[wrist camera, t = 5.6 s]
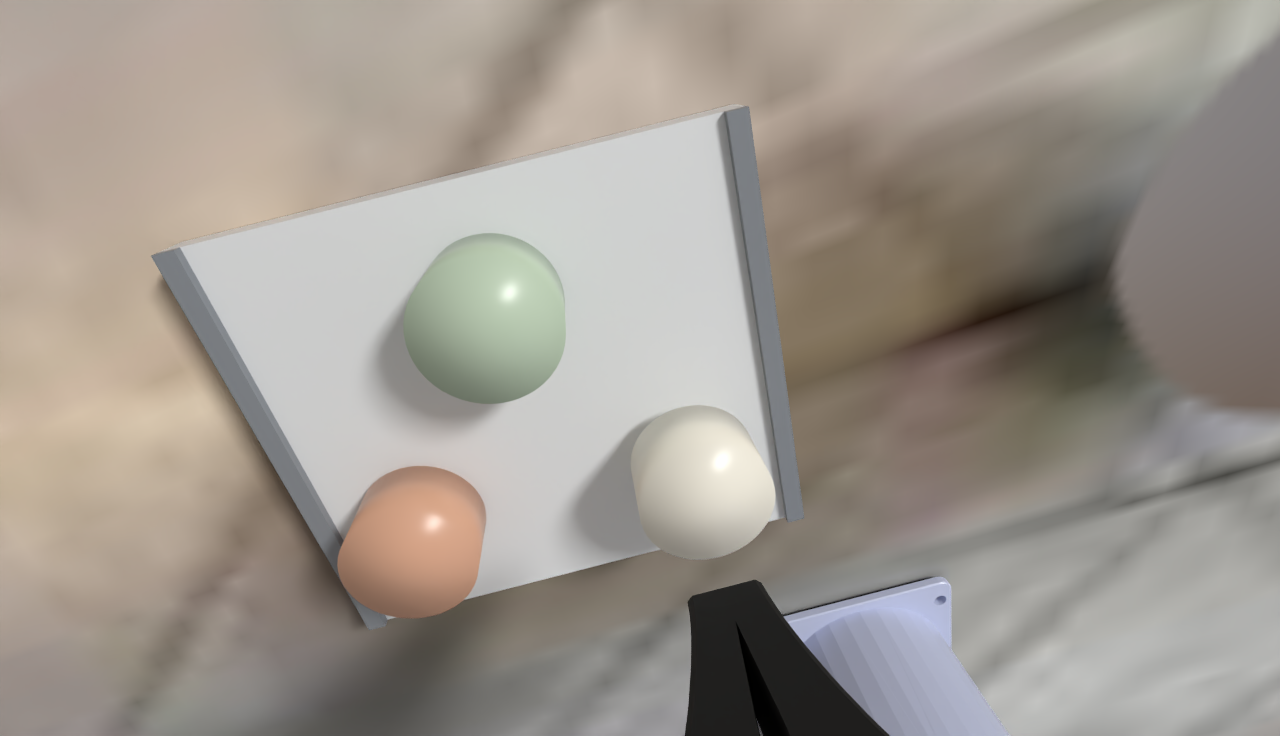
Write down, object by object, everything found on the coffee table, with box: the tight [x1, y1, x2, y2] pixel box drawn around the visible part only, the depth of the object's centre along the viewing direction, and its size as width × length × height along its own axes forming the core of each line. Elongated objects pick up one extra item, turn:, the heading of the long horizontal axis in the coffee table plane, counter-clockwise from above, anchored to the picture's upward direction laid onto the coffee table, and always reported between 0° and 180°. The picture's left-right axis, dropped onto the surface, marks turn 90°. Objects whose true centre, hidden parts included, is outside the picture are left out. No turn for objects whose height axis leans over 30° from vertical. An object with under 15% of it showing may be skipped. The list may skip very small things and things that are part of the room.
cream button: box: [631, 405, 775, 560], centre depth 19 cm, size 4×4×2 cm
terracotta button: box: [337, 466, 486, 618], centre depth 20 cm, size 4×4×2 cm
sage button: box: [403, 233, 566, 404], centre depth 17 cm, size 4×4×2 cm
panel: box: [151, 104, 804, 630], centre depth 20 cm, size 14×16×2 cm
